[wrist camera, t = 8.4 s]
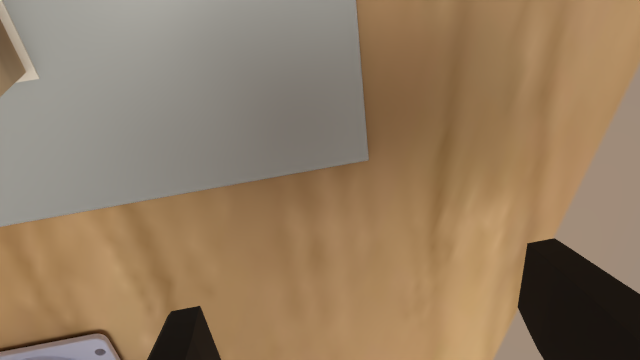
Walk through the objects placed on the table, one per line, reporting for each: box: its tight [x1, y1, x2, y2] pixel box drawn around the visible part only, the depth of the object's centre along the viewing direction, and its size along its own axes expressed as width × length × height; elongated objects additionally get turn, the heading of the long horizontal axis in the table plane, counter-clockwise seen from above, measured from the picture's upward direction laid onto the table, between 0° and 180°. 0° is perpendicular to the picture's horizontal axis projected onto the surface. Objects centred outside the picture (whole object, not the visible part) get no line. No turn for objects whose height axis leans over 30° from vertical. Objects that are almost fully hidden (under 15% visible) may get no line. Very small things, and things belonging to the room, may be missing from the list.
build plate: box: [0, 0, 369, 227], centre depth 16 cm, size 14×20×1 cm
